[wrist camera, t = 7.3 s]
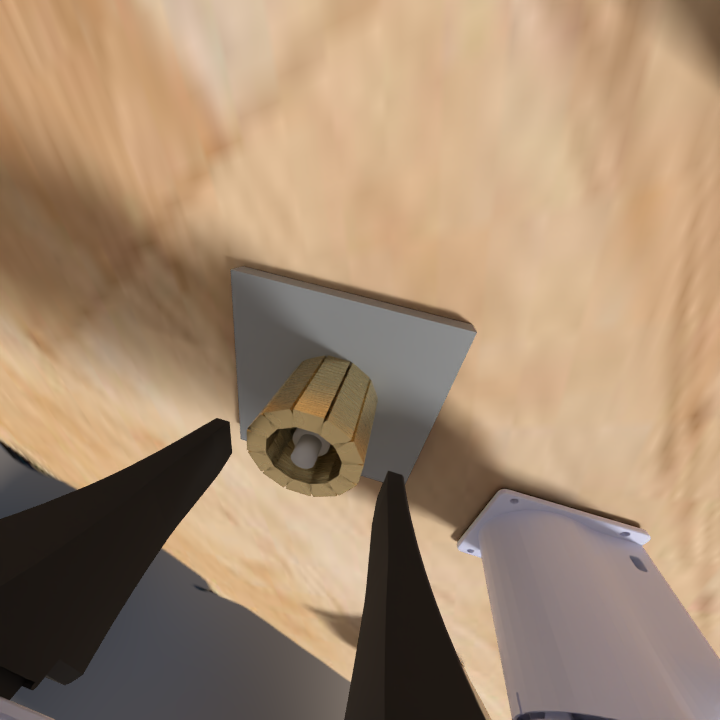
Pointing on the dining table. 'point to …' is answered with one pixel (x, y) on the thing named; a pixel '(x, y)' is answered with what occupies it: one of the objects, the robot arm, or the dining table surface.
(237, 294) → the stand
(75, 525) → the robot arm
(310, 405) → the collar
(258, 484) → the dining table surface
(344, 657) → the dining table surface
